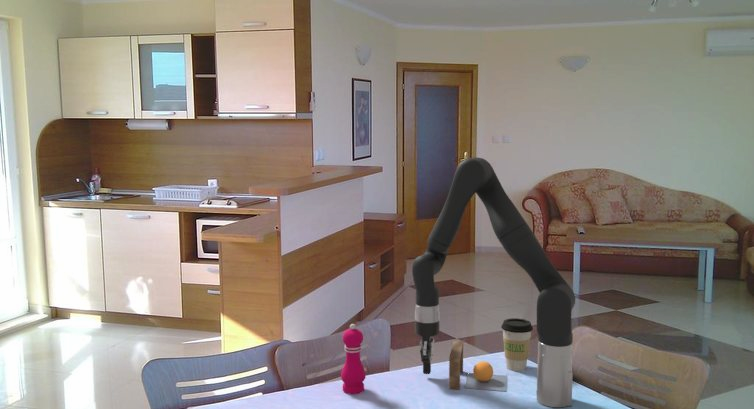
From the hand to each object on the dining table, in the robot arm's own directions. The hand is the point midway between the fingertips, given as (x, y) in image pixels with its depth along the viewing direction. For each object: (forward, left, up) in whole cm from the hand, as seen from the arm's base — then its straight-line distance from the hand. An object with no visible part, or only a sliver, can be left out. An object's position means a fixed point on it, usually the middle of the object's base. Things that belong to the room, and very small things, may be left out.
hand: (426, 373), depth 194 cm
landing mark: (-18, 0, -2) cm, 18 cm away
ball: (-17, -1, +2) cm, 17 cm away
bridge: (-9, 0, -2) cm, 9 cm away
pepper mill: (+20, +14, -2) cm, 24 cm away
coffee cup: (-27, -14, -2) cm, 30 cm away
